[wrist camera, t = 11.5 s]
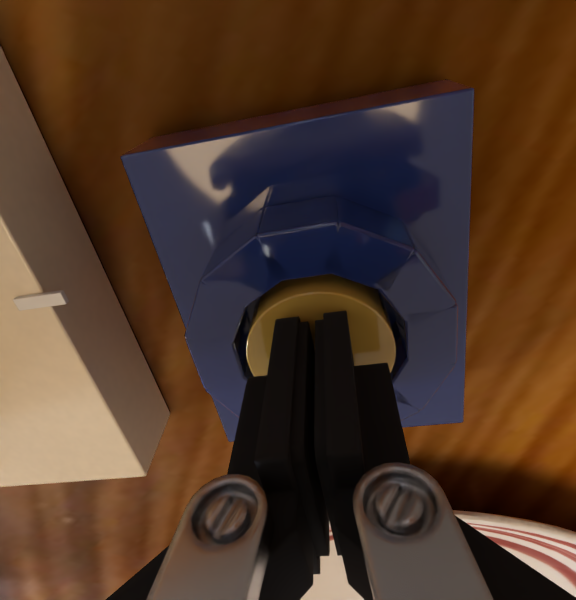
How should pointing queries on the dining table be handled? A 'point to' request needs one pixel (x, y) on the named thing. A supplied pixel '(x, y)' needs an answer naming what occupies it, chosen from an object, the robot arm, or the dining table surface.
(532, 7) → the dining table surface
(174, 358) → the dining table surface
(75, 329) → the plate
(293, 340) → the robot arm
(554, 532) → the dinner plate
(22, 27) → the dining table surface
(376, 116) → the tap button block
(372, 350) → the tap button
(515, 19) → the dining table surface
